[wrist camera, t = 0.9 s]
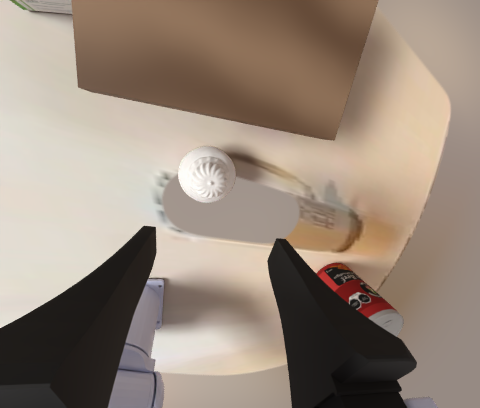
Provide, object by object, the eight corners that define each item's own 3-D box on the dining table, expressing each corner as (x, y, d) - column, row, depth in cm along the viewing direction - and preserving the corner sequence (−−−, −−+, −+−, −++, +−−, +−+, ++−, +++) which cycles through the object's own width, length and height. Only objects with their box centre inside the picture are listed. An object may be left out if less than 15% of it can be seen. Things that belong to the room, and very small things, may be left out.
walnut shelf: (274, 134, 25) (334, 140, 15) (134, 107, 21) (78, 87, 10) (302, 5, 21) (414, -115, 10) (135, -63, 17) (40, -388, 6)
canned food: (354, 266, 38) (414, 317, 28) (332, 298, 39) (380, 357, 29) (325, 256, 35) (379, 309, 25) (302, 291, 37) (344, 353, 27)
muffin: (226, 194, 26) (237, 216, 20) (178, 190, 25) (174, 212, 19) (233, 147, 24) (248, 154, 18) (181, 139, 23) (178, 144, 16)
